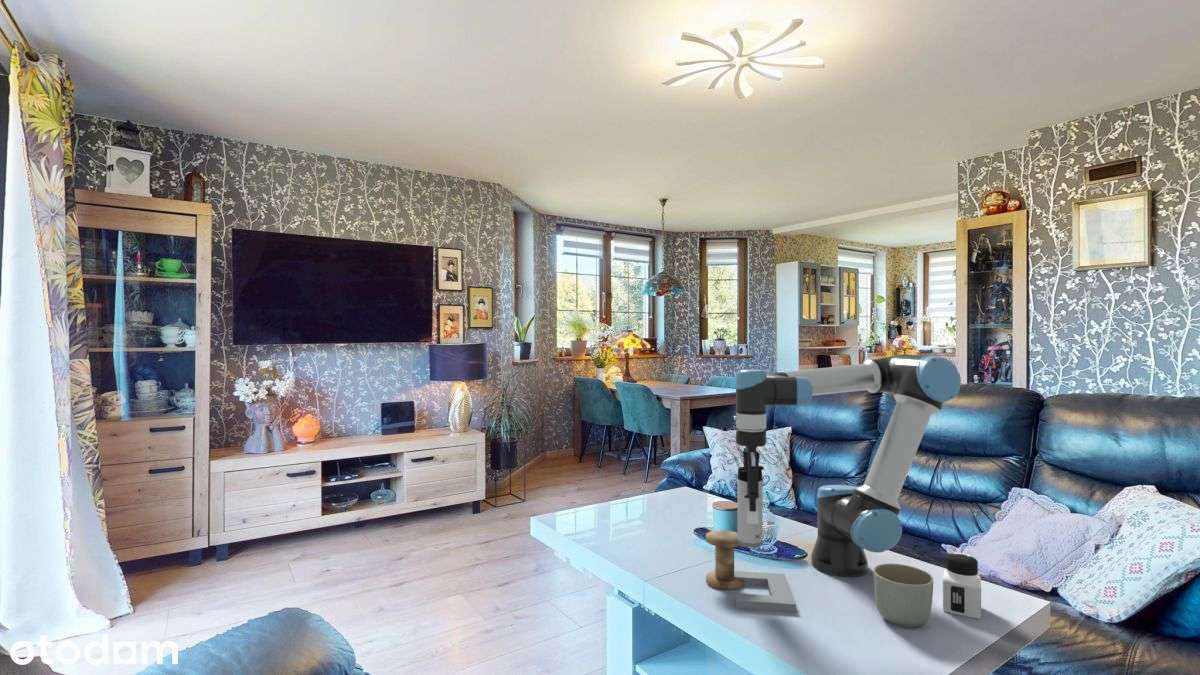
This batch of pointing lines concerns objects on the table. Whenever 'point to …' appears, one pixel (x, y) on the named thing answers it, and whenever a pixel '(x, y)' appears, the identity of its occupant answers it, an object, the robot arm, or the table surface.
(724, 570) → the bobbin
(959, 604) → the container
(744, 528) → the travel mug
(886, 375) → the robot arm
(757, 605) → the notched board
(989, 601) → the table surface
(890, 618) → the planter
